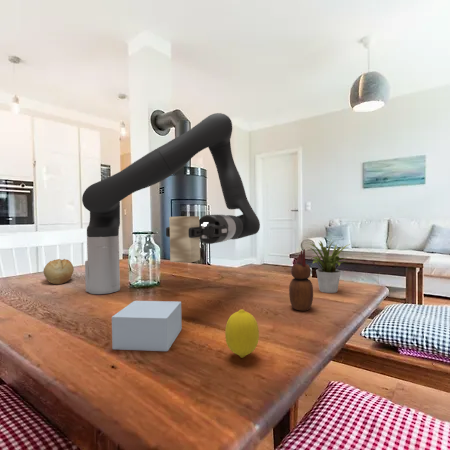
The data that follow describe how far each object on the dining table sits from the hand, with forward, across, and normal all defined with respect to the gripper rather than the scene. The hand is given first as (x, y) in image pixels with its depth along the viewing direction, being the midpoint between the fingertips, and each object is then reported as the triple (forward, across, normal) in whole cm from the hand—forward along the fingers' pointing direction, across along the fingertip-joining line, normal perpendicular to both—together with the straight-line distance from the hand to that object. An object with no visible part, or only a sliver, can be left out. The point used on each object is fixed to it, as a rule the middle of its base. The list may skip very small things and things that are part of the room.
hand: (178, 232), depth 66 cm
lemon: (+9, +20, +20) cm, 29 cm away
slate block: (+10, 0, +20) cm, 22 cm away
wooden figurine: (-21, +22, +20) cm, 36 cm away
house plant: (-41, +23, +20) cm, 51 cm away
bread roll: (-13, -65, +20) cm, 69 cm away
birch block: (-2, 0, +6) cm, 7 cm away
